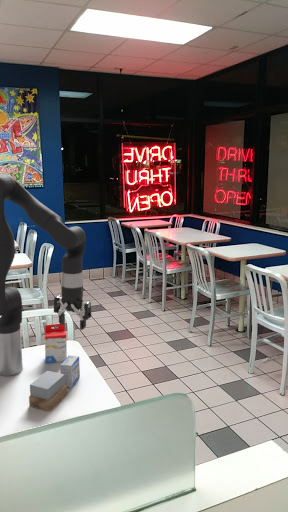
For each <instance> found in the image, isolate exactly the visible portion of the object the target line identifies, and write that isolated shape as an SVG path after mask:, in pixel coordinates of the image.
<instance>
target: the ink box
mask: <svg viewBox="0 0 288 512" xmlns="http://www.w3.org/2000/svg"><path fill="white" fill-rule="evenodd" d="M65 324H66V323H64V324H63V325H60V323H54V324H45V325H44V351H45V352H44V353H45V363H46V364H47V363H49V364H50V363H57V362H58V363H59V362H64V361H65V359H66V358H67V357H68V356H67V355H68V353H67V350H68V349H67V347H68V345H67V332H66V330H65V329H66V328H65V327H66V326H65Z"/></svg>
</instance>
